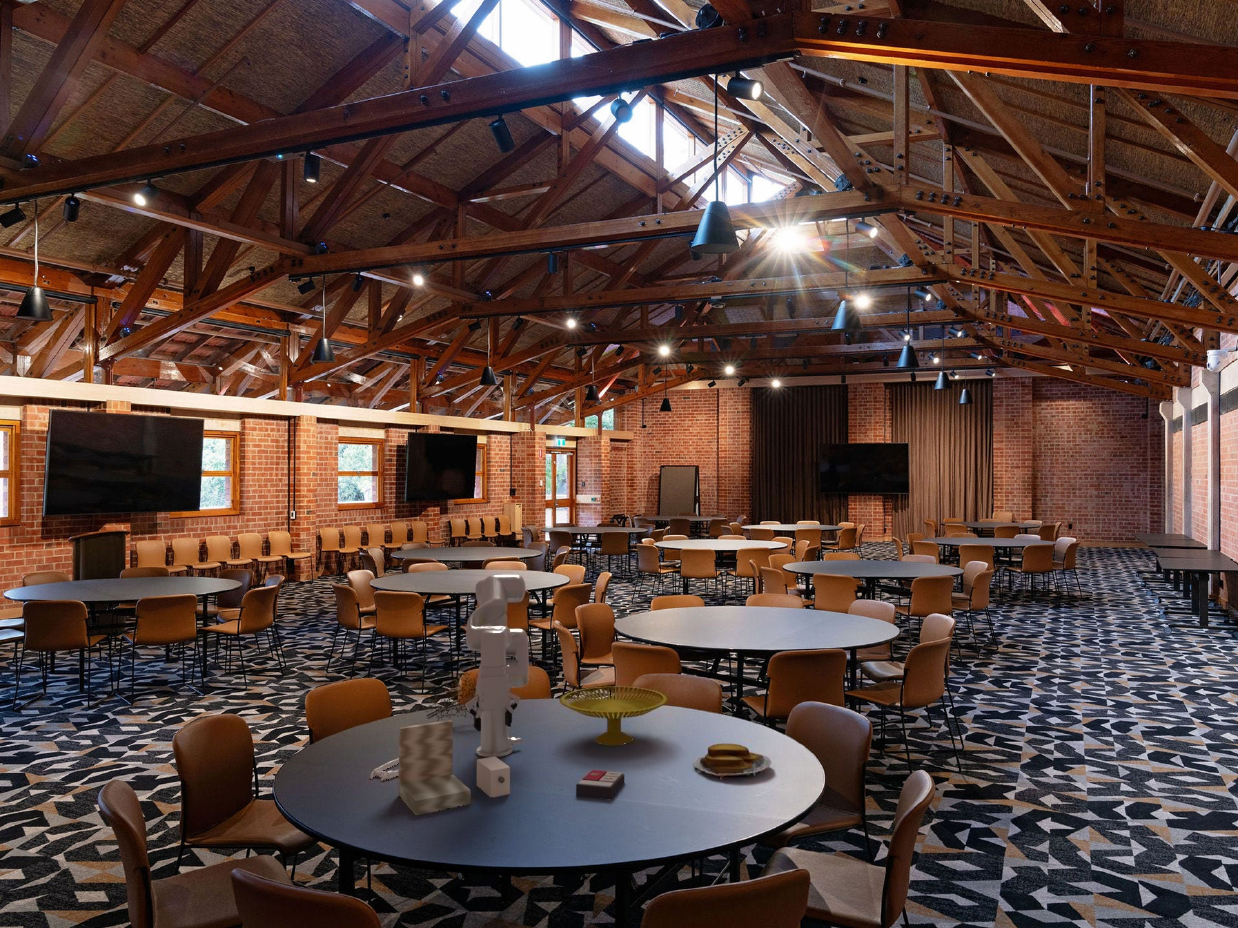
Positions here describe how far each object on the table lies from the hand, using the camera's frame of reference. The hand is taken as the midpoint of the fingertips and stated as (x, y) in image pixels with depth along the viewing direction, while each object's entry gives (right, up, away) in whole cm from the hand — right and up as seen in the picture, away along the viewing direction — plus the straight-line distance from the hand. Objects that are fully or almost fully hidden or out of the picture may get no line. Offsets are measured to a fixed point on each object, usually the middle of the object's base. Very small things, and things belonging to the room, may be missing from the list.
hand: (493, 727), depth 245 cm
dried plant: (-17, -22, +73) cm, 78 cm away
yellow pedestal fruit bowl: (+36, -21, +50) cm, 65 cm away
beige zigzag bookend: (-16, -18, -9) cm, 26 cm away
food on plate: (+75, -20, +17) cm, 80 cm away
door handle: (-33, -20, +20) cm, 43 cm away
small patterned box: (+33, -19, -1) cm, 38 cm away
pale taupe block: (0, -19, 0) cm, 19 cm away
